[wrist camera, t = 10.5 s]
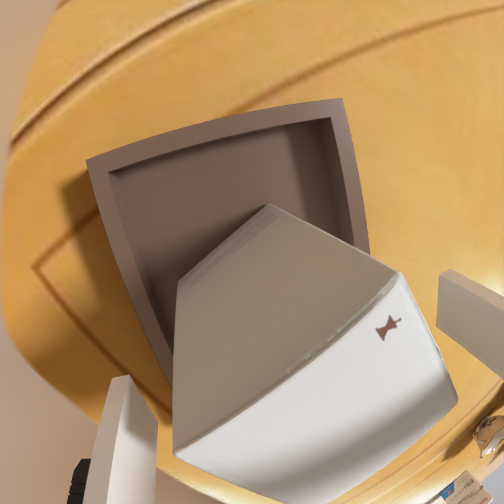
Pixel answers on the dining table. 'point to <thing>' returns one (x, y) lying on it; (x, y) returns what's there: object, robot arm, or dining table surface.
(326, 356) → the supplement box
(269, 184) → the tray
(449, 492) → the ink box
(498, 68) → the dining table surface
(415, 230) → the dining table surface
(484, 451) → the chinaware
